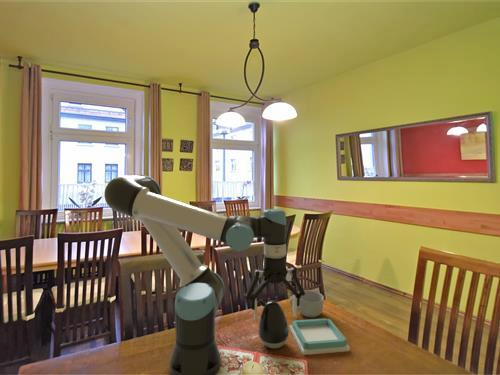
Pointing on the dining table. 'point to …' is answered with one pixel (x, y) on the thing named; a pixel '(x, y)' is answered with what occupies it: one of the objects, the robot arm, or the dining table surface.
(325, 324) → the dock
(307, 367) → the dining table surface
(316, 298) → the teacup
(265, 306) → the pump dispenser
